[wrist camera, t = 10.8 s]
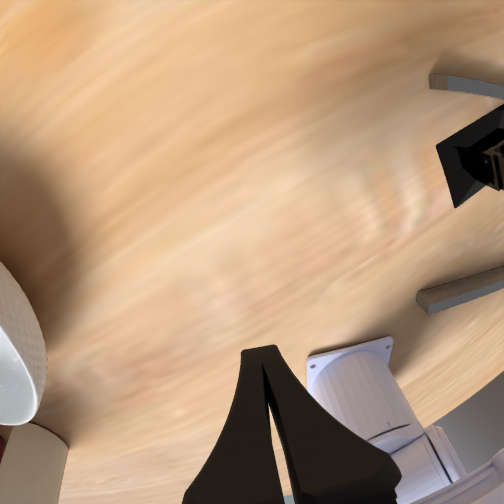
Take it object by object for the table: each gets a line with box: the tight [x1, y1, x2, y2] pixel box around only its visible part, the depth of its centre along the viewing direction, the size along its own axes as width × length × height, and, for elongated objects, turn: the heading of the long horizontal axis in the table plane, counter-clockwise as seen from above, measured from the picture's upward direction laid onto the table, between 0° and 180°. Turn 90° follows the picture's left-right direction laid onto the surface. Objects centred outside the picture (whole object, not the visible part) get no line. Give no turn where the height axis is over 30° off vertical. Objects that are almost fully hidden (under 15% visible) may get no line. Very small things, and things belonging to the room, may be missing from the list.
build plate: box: [436, 104, 504, 208], centre depth 18 cm, size 12×7×5 cm, turn 122°
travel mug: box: [0, 422, 68, 504], centre depth 21 cm, size 8×8×18 cm
